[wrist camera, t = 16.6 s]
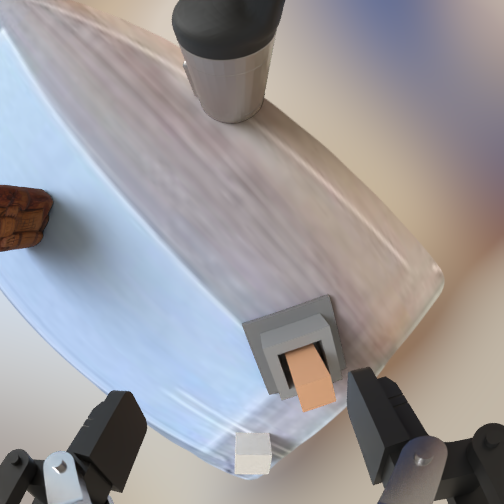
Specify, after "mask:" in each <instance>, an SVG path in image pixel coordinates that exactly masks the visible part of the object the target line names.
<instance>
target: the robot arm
mask: <svg viewBox="0 0 504 504" xmlns="http://www.w3.org/2000/svg"><path fill="white" fill-rule="evenodd" d="M284 3H285V0H179V2H178V3H177V5H176V6H175V8H174V11H173V15H172V25H173V30H174V32H175V35H176V38H177V40H178V43H179V46H180V48H181V51H182V54H183V56H184V59H185V61H184V63H183V67H184V69H185V72H186V74H187V77H188V80H189V82H190V85H191V87H192V90H193V92H194V95H195V96H196V97H198V98H199V100H200V103H201V106H202V108H203V109H204V111H205V112H206V113H207V114H208V115H209V116H210V117H212V118H213V119H215V120H217V121H220V122H225V123H236V122H241V121H244V120H247V119H248V118H250V117H252V116H253V115H254V114H255V113H256V112H257V111H258V110H259V109H260V107H261V105H262V102H263V99H264V95H265V88H266V82H267V78H268V72H269V67H270V62H271V56H272V50H273V46H274V40H275V35H276V30H277V27H278V25H279V22H280V19H281V15H282V11H283V6H284ZM347 409H348V414H349V417H350V420H351V423H352V425H353V429H354V431H355V434H356V437H357V440H358V443H359V445H360V448H361V451H362V454H363V457H364V460H365V463H366V466H367V469H368V472H369V475H370V478H371V481H372V484H373V485H375V484H379V483H381V482H382V483H383V485H384V488H385V490H384V491H383V493H382V496H381V497H380V499H379V501H378V503H377V504H432V503H433V501H436V500H441V499H447V501H448V504H504V426H503V425H501V424H497V423H489V424H486V425H484V426H482V427H480V428H479V429H478V430H477V431H476V433H475V434H474V436H473V438H470V439H465V440H460V441H455V442H443V441H441V440H440V439H439V438H436V437H433V436H429V435H428V434H427V432H426V431H425V429H424V428H423V426H422V424H421V423H420V421H419V419H418V418H417V416H416V414H415V413H414V411H413V409H412V408H411V406H410V405H409V403H408V402H407V400H406V398H405V397H404V395H403V393H402V392H401V390H400V389H399V387H398V385H397V384H396V383H395V382H393V381H392V380H390V379H389V378H387V377H382V378H379V379H377V378H376V376H375V374H374V373H373V371H372V369H371V368H370V367H366V368H362V369H358V370H353V371H349V372H348V388H347ZM146 431H147V422H146V419H145V417H144V415H143V413H142V411H141V409H140V407H139V405H138V403H137V402H136V400H135V398H134V396H133V394H132V393H131V392H129V391H115V390H113V391H111V392H110V393H109V394H108V396H107V398H106V399H105V401H104V402H101V403H100V404H99V405H98V406H96V407H95V408H94V409H93V410H92V412H91V414H90V415H89V416H88V419H87V420H86V421H85V423H84V426H83V427H82V428H81V429H80V431H79V432H78V434H77V435H76V437H75V438H74V440H73V442H72V443H71V445H70V446H69V448H68V450H67V451H66V452H65V451H58V452H54V453H52V454H51V455H49V456H48V457H47V458H46V460H33V459H32V458H31V457H30V456H29V455H28V454H27V452H25V451H24V450H22V449H16V450H13V451H11V452H10V453H9V454H8V455H7V456H6V457H5V459H4V460H3V462H2V463H1V465H0V504H19V503H20V502H21V499H22V498H23V496H24V494H25V492H26V490H27V491H28V492H29V493H30V494H31V495H33V496H34V497H35V498H34V501H33V503H32V504H114V503H113V500H112V498H111V497H110V496H109V493H110V491H111V490H113V491H117V492H121V493H122V492H123V489H124V487H125V484H126V481H127V479H128V477H129V474H130V471H131V469H132V466H133V464H134V461H135V459H136V456H137V454H138V451H139V449H140V446H141V444H142V441H143V439H144V436H145V434H146Z"/></svg>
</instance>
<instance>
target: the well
mask: <svg viewBox="0 0 504 504" xmlns="http://www.w3.org/2000/svg"><path fill="white" fill-rule="evenodd" d="M242 326H243V329H244V331H245V334H246V337H247V339H248V342H249V345H250V347H251V350H252V352H253V355H254V358H255V360H256V363H257V365H258V368H259V370H260V373H261V375H262V378H263V380H264V383H265V385H266V388H267V390H268V393H269V395H271V394H274V393H278V392H279V394H280V397H281V399H282V400H285V399H288V398H291V397H294V396H297V395H298V394H297V391H296V388H295V385H294V382H293V378H292V375H291V372H290V369H289V365H288V362H287V359H286V356H285V352H288V351H291V350H294V349H297V348H300V347H303V346H306V345H308V344H311V343H313V345H314V347H315V348H316V350H317V352H318V354H319V356H320V357H321V359H322V361H323V363H324V365H325V366H326V368H327V370H328V372H329V374H330V376H331V380H332V383H334V382H336V381H339V380H342V375H341V370H343V369H346V363H345V359H344V354H343V350H342V345H341V341H340V337H339V333H338V329H337V324H336V320H335V316H334V312H333V308H332V305H331V301H330V297H329V295H324V296H322V297H319V298H316V299H313V300H311V301H308V302H305V303H302V304H299V305H296V306H294V307H291V308H288V309H285V310H282V311H279V312H276V313H273V314H270V315H267V316H264V317H261V318H258V319H255V320H251V321H248V322H245V323H242Z"/></svg>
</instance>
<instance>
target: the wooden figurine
mask: <svg viewBox="0 0 504 504" xmlns="http://www.w3.org/2000/svg"><path fill="white" fill-rule="evenodd" d="M52 204H53V200H52V198H51V197H50V196H49V194H48V193H46V192H45V191H44V190H42V189H34V188H27V187H17V186H11V185H0V252H3V251H8V250H14V249H22V248H28V247H32V246H35V245H37V244H38V243H39V242H40V241H41V240H42V238H43V233H42V232H43V230H44V228H45V227H46V224H47V223H48V220H49V216H48V213H49V211H50V209H51V206H52Z"/></svg>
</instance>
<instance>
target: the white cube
mask: <svg viewBox="0 0 504 504" xmlns="http://www.w3.org/2000/svg"><path fill="white" fill-rule="evenodd" d="M271 459H272V450H271V443H270V435H269V433H237V432H236V442H235V474H269V470H270V464H271Z"/></svg>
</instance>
